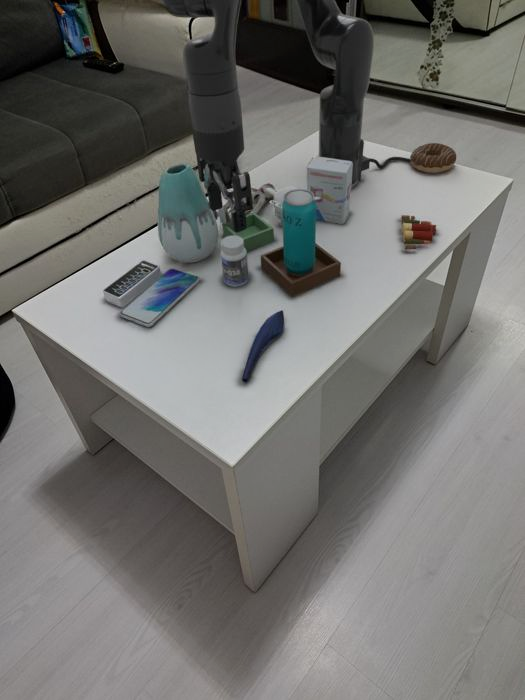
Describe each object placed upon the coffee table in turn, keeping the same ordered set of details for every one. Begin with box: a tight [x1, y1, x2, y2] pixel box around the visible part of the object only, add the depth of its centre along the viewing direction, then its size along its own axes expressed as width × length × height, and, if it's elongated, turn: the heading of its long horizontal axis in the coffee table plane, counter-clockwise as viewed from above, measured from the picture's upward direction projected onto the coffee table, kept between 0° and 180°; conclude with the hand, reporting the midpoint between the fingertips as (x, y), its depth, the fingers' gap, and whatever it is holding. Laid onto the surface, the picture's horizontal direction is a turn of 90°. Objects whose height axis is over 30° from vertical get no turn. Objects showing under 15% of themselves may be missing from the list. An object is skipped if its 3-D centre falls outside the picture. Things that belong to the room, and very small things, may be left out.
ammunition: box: [400, 214, 437, 250], centre depth 99 cm, size 12×2×6 cm
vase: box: [157, 162, 219, 263], centre depth 94 cm, size 12×12×18 cm
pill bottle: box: [220, 236, 250, 287], centre depth 90 cm, size 5×5×8 cm
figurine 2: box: [266, 185, 320, 227], centre depth 103 cm, size 12×8×10 cm
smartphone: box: [119, 268, 200, 328], centre depth 90 cm, size 7×1×15 cm
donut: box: [409, 142, 457, 174], centre depth 119 cm, size 11×11×4 cm
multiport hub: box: [102, 260, 163, 309], centre depth 92 cm, size 4×11×2 cm, turn 147°
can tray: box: [260, 242, 342, 298], centre depth 93 cm, size 11×11×3 cm
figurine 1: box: [213, 182, 276, 224], centre depth 107 cm, size 6×6×20 cm
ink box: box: [306, 155, 353, 225], centre depth 103 cm, size 9×5×12 cm, turn 68°
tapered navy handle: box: [241, 310, 285, 383], centre depth 79 cm, size 16×4×2 cm, turn 157°
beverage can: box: [282, 188, 317, 276], centre depth 88 cm, size 6×6×15 cm
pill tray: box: [221, 213, 275, 253], centre depth 102 cm, size 8×8×3 cm
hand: (227, 219), depth 84 cm, fingers open, 8 cm apart
